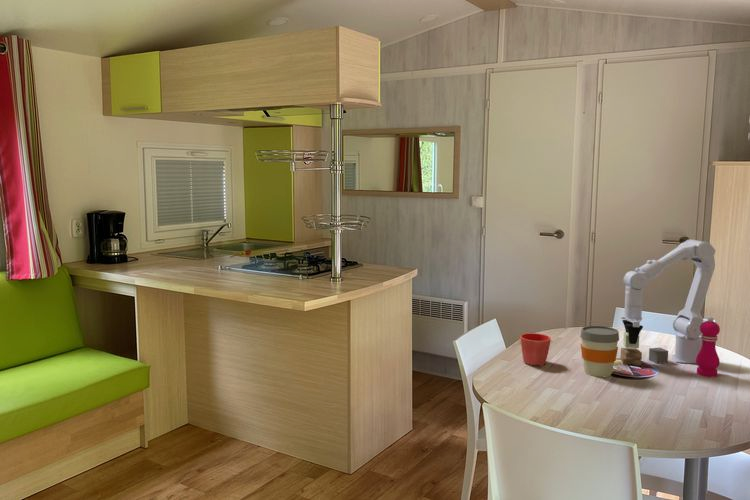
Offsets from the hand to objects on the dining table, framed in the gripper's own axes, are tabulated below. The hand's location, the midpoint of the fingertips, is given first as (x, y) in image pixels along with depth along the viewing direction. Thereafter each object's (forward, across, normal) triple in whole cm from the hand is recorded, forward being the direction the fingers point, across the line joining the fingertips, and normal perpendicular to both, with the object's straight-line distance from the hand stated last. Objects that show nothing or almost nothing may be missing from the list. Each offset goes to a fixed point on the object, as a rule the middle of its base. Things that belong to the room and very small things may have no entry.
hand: (631, 341), depth 230 cm
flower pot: (+8, +7, -34) cm, 36 cm away
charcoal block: (+8, -3, +10) cm, 13 cm away
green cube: (+2, 0, 0) cm, 2 cm away
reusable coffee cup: (+8, +14, -13) cm, 21 cm away
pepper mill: (+8, +9, +23) cm, 26 cm away
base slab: (+8, 0, 0) cm, 8 cm away
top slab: (+6, 0, 0) cm, 6 cm away
